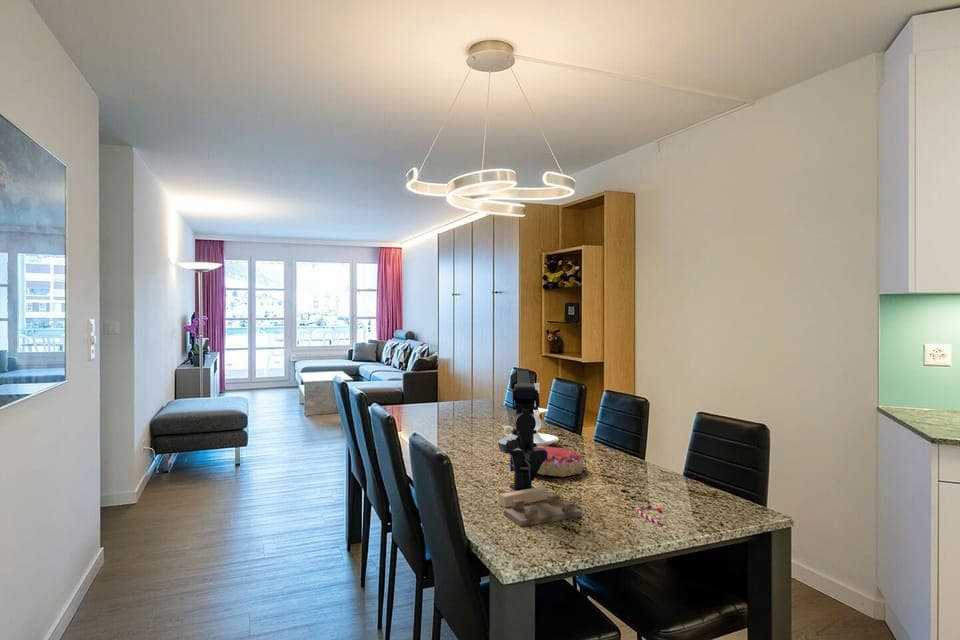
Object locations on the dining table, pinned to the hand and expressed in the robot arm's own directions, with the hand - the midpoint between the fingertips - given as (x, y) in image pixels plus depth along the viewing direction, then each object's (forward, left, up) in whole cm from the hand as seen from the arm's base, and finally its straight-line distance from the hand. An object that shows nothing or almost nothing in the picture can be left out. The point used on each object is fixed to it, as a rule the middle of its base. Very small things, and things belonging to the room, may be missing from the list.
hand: (524, 476), depth 178 cm
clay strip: (0, 0, -8) cm, 8 cm away
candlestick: (-67, +40, -8) cm, 78 cm away
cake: (-29, +26, -8) cm, 40 cm away
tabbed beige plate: (+13, -1, -8) cm, 15 cm away
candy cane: (+26, +28, -8) cm, 39 cm away
